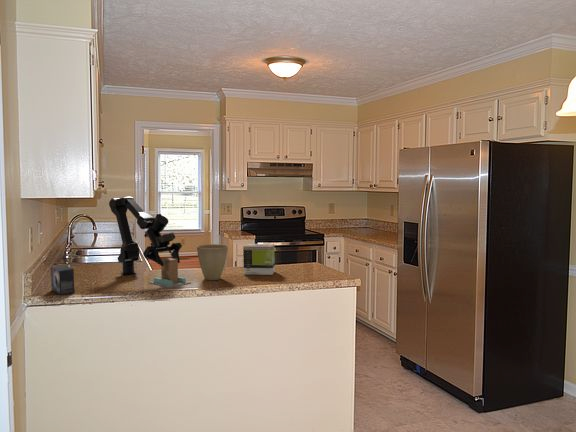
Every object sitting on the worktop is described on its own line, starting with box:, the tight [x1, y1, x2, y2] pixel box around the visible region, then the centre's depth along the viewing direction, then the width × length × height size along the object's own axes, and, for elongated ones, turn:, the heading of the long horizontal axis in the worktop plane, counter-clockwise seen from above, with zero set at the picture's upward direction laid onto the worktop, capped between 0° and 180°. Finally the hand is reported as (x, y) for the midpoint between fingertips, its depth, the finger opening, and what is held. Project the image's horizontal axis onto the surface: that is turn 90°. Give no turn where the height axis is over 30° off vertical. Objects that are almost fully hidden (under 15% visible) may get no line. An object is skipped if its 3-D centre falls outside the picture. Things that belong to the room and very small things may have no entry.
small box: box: [50, 264, 76, 296], centre depth 208 cm, size 11×6×10 cm, turn 45°
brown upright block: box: [160, 256, 179, 283], centre depth 226 cm, size 7×4×11 cm, turn 50°
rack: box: [147, 276, 192, 289], centre depth 226 cm, size 16×12×2 cm
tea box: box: [242, 243, 276, 276], centre depth 250 cm, size 15×10×15 cm, turn 84°
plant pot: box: [196, 243, 229, 281], centre depth 236 cm, size 15×15×16 cm
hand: (171, 264), depth 225 cm, fingers open, 9 cm apart
